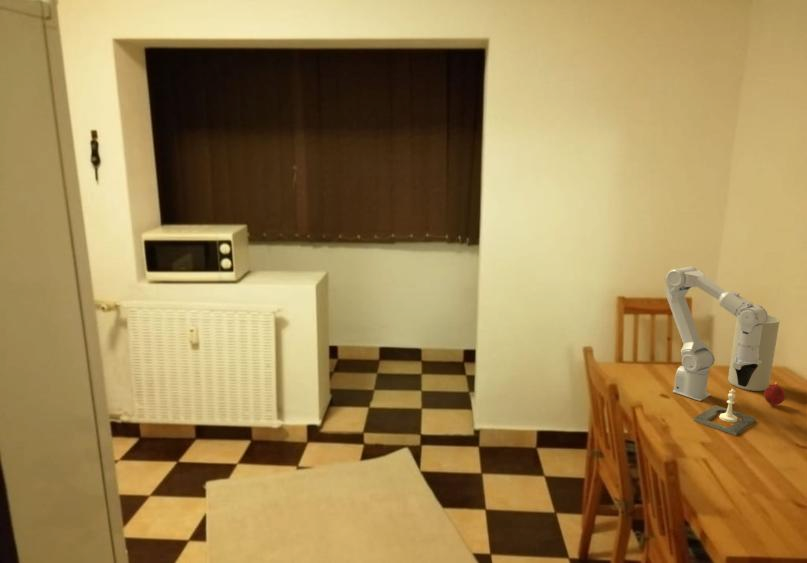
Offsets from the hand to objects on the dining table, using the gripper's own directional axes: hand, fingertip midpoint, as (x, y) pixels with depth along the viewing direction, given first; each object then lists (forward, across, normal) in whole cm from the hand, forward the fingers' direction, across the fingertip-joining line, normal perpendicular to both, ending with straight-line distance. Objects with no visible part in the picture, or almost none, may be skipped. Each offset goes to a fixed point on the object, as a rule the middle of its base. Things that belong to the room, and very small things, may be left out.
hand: (742, 385), depth 176 cm
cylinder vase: (+9, +26, +7) cm, 29 cm away
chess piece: (+9, -8, 0) cm, 12 cm away
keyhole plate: (+9, -10, 0) cm, 14 cm away
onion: (+9, +14, -5) cm, 18 cm away
